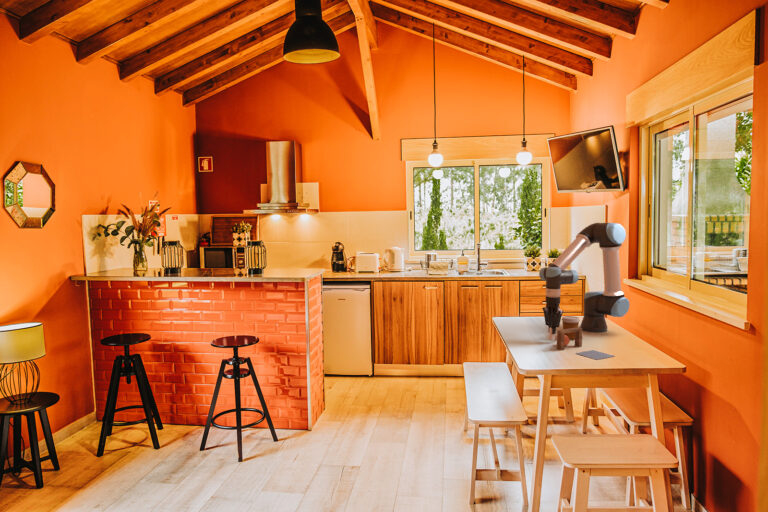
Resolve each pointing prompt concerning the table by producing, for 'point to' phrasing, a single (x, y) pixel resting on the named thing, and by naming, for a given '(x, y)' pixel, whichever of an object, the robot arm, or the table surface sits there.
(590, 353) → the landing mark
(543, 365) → the table surface
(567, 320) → the disposable coffee cup
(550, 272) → the robot arm
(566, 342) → the ball
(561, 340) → the bridge
